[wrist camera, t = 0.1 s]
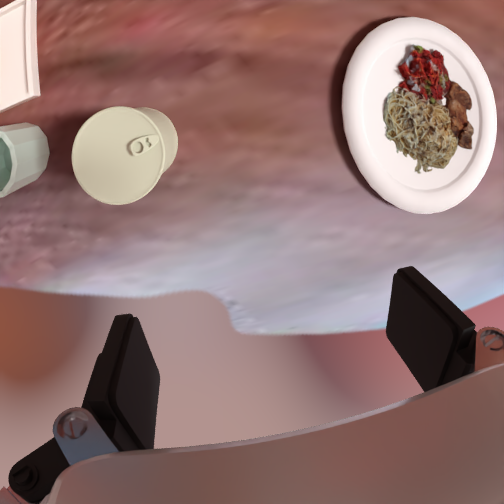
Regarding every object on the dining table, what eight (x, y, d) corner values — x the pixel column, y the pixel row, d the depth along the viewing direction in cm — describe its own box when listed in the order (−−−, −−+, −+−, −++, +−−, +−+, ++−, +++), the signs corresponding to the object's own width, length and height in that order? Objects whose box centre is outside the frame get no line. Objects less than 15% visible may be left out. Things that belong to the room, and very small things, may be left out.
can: (189, 163, 38) (180, 183, 27) (123, 191, 39) (93, 222, 28) (162, 95, 34) (142, 88, 24) (96, 127, 35) (54, 135, 24)
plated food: (397, 246, 47) (408, 255, 44) (292, 75, 36) (299, 72, 32) (506, 150, 43) (519, 154, 40) (437, -3, 31) (450, -7, 28)
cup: (-1, 133, 32) (-37, 142, 24) (43, 115, 32) (9, 119, 25) (10, 188, 35) (-23, 205, 28) (54, 174, 36) (23, 190, 28)
